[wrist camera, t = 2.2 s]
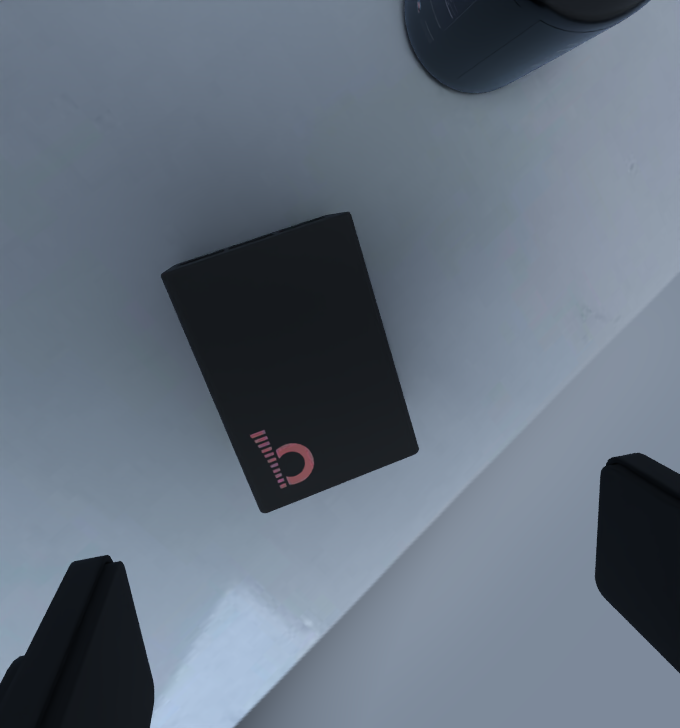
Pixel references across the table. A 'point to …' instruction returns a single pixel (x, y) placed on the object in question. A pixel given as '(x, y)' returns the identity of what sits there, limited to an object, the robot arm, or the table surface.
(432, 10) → the supplement bottle
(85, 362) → the table surface
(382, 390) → the electronic device
